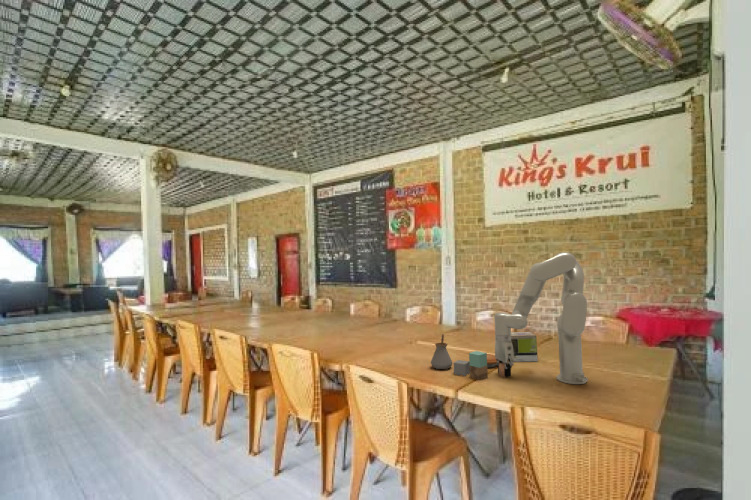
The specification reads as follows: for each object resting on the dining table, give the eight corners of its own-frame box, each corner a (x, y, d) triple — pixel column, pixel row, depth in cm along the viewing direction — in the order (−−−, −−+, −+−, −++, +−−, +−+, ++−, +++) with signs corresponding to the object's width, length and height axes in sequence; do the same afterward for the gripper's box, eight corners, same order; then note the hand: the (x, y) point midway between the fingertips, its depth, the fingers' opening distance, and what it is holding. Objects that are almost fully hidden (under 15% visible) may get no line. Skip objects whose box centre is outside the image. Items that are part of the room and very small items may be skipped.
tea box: (532, 357, 218) (531, 331, 218) (538, 362, 208) (537, 335, 208) (505, 357, 219) (504, 331, 220) (509, 362, 209) (508, 335, 210)
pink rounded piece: (512, 376, 184) (511, 364, 184) (502, 377, 183) (502, 365, 183) (506, 373, 189) (505, 361, 189) (497, 374, 188) (496, 362, 188)
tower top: (487, 365, 185) (486, 353, 185) (479, 367, 181) (479, 355, 181) (476, 362, 189) (476, 350, 189) (469, 365, 185) (469, 353, 185)
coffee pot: (451, 371, 195) (450, 342, 196) (429, 370, 198) (428, 342, 199) (454, 360, 216) (453, 334, 216) (434, 359, 219) (433, 333, 219)
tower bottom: (487, 378, 183) (487, 365, 184) (477, 380, 181) (477, 367, 181) (479, 374, 189) (479, 362, 189) (470, 376, 186) (469, 364, 187)
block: (469, 373, 192) (469, 361, 192) (465, 376, 187) (464, 364, 187) (458, 371, 196) (458, 359, 196) (453, 374, 191) (453, 362, 191)
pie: (464, 365, 207) (464, 356, 207) (481, 359, 217) (481, 350, 217) (489, 371, 195) (489, 361, 195) (505, 364, 205) (505, 355, 205)
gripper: (520, 340, 179) (521, 379, 179) (500, 334, 196) (501, 369, 195) (506, 342, 177) (507, 381, 177) (487, 335, 194) (488, 370, 193)
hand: (504, 374), depth 186 cm, fingers closed on pink rounded piece, 5 cm apart
